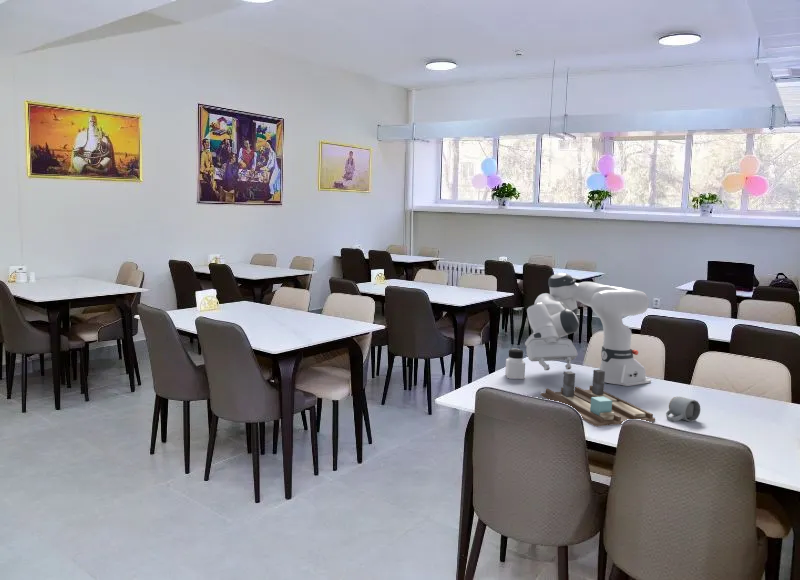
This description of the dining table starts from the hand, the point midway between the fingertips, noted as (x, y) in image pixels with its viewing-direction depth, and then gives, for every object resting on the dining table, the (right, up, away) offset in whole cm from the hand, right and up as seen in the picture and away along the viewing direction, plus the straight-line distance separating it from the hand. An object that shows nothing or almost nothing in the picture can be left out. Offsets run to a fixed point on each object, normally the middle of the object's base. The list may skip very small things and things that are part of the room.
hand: (558, 369), depth 246 cm
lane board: (+11, -13, -9) cm, 19 cm away
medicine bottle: (-11, -7, +30) cm, 33 cm away
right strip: (+6, -12, -14) cm, 20 cm away
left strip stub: (+16, -11, -3) cm, 20 cm away
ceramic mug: (+38, -15, -19) cm, 46 cm away
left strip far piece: (+20, -13, -16) cm, 29 cm away
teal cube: (+9, -12, -23) cm, 27 cm away
